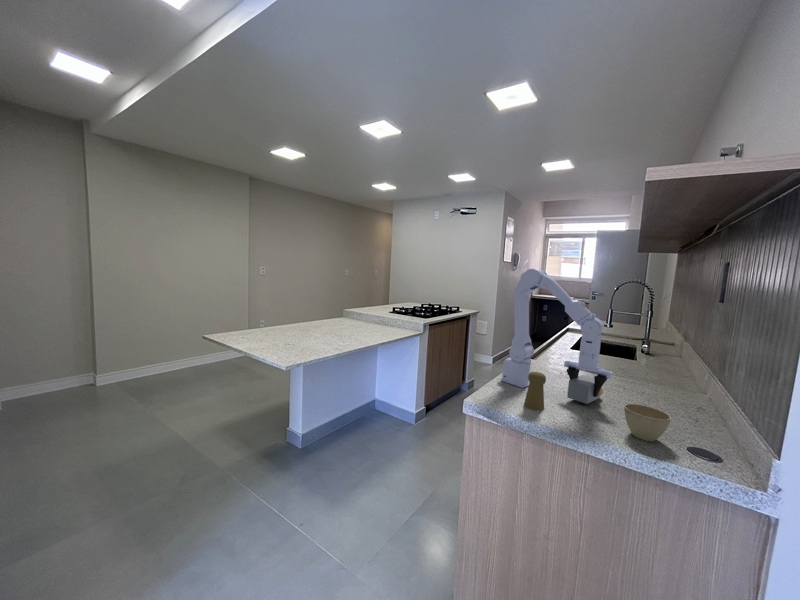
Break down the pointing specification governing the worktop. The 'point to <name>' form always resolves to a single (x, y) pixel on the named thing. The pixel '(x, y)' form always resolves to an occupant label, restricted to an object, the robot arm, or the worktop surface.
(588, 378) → the grey rectangular block
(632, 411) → the pale yellow bowl
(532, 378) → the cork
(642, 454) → the worktop surface
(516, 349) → the robot arm
